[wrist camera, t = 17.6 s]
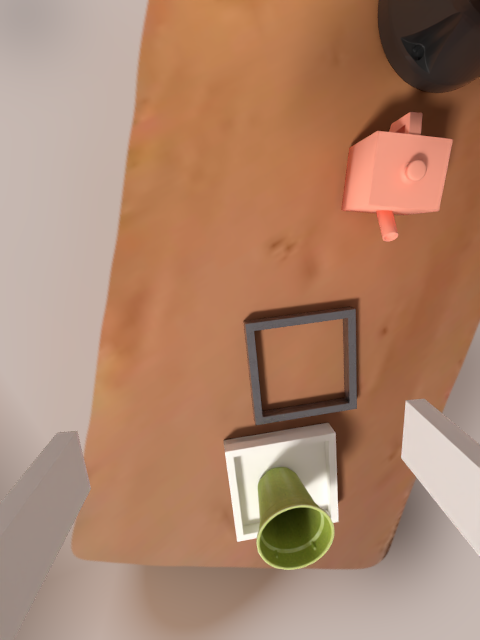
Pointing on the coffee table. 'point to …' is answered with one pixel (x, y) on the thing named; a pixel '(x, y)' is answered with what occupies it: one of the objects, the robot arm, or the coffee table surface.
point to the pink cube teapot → (396, 173)
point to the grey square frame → (313, 408)
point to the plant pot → (290, 522)
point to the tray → (281, 451)
